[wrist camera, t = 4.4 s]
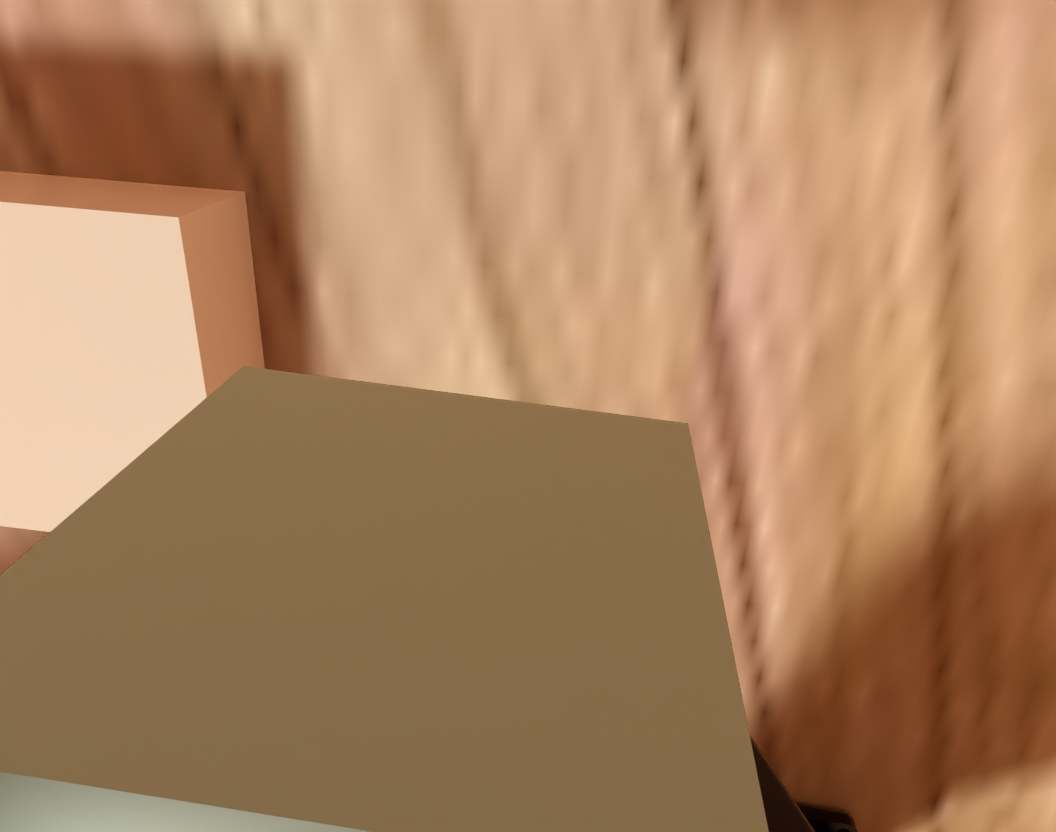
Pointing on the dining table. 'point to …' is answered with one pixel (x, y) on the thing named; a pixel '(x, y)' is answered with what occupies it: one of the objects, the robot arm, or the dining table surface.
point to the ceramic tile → (111, 327)
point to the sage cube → (378, 627)
